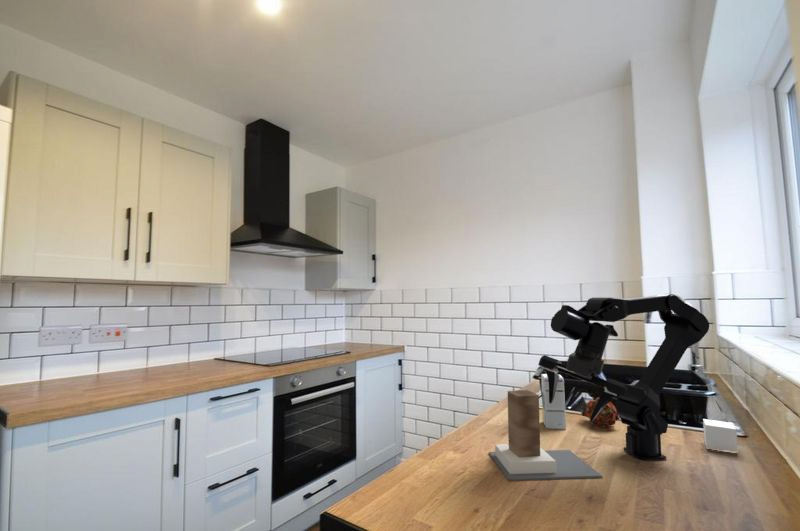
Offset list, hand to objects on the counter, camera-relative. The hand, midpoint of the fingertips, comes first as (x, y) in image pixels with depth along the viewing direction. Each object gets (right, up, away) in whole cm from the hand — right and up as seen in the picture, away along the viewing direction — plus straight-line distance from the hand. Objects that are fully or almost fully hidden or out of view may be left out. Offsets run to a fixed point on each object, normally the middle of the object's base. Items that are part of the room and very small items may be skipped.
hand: (570, 411), depth 91 cm
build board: (-7, -11, -2) cm, 14 cm away
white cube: (+41, -12, +8) cm, 44 cm away
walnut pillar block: (-11, -8, -2) cm, 14 cm away
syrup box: (+6, -13, +25) cm, 29 cm away
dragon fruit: (+20, -14, +26) cm, 35 cm away
